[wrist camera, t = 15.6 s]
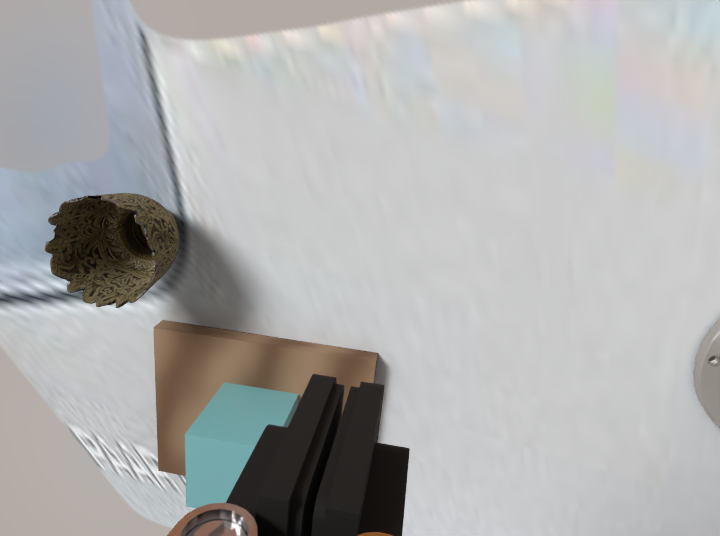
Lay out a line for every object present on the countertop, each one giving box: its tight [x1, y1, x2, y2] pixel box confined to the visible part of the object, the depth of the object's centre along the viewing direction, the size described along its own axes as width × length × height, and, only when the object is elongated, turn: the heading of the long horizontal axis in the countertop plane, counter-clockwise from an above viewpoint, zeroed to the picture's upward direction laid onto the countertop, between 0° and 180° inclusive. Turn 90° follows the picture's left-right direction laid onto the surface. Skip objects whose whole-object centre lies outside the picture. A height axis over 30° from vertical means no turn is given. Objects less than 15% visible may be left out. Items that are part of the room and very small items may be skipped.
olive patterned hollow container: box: [45, 193, 179, 308], centre depth 37 cm, size 8×7×8 cm
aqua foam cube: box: [185, 382, 298, 508], centre depth 40 cm, size 6×6×7 cm
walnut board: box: [154, 320, 378, 476], centre depth 44 cm, size 18×14×2 cm
